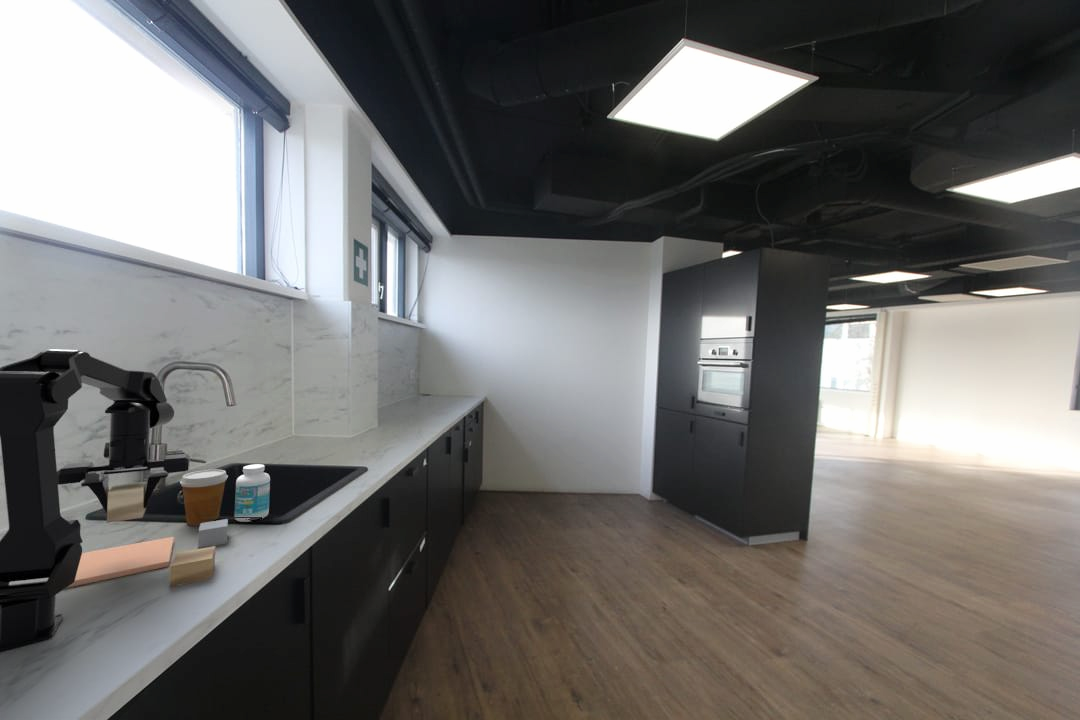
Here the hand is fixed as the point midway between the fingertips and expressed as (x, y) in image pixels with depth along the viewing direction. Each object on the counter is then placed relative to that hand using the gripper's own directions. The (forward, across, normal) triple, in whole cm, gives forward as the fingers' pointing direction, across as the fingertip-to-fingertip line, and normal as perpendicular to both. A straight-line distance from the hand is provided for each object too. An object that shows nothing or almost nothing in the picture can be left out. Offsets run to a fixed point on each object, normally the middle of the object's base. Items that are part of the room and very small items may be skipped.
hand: (127, 510), depth 83 cm
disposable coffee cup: (+11, -12, -18) cm, 24 cm away
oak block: (+11, -11, +14) cm, 21 cm away
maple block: (+1, 0, 0) cm, 1 cm away
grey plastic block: (+11, -14, -2) cm, 18 cm away
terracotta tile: (+10, 0, 0) cm, 11 cm away
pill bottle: (+11, -22, -14) cm, 28 cm away
